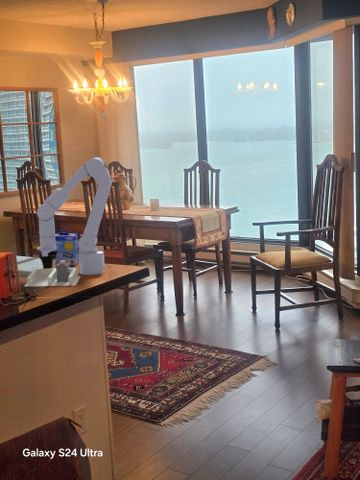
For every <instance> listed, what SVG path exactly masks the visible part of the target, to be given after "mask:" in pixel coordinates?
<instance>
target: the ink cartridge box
mask: <svg viewBox="0 0 360 480" xmlns="http://www.w3.org/2000/svg"><path fill="white" fill-rule="evenodd" d="M58 232H59V233H55V240H56V250H58V252H57V255H56V258H55V266H56V265H57V264H58V263H59V261H62V260H65V261H66V263H69V266H76V265H77V264H79V247H78V241H79V239H78V237H79V236H78V233H69V230H68V229H58Z"/></svg>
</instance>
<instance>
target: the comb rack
mask: <svg viewBox="0 0 360 480" xmlns="http://www.w3.org/2000/svg"><path fill="white" fill-rule="evenodd" d="M69 273H70V275H69V277H68V278H69V281H68V282H57V274H56V268H50V269H43V268H34V269H33V270H32V272H31V273H30V274H29V275H28V276H27V277H26V283H25V285H24V286H23V287H57V286H63V287H64V286H65V287H66V286H76V285H77V284H78V282H79V280H80V279H81V276H82V275H78V274H79V273H78V267H69Z"/></svg>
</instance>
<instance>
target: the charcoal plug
mask: <svg viewBox="0 0 360 480" xmlns="http://www.w3.org/2000/svg"><path fill="white" fill-rule="evenodd" d="M55 266H56V274H57V282H68V281H69V278H68V277H69V275H70V273H69V268H70V265H69V263H66V261H65V260H62V261H59V263H58V264H57V265H55Z"/></svg>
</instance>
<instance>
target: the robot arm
mask: <svg viewBox="0 0 360 480" xmlns="http://www.w3.org/2000/svg"><path fill="white" fill-rule="evenodd" d="M90 176H91V177H92V178H93V179H94V181H95V182H96V184H97V188H96V189H97V190H96V191H95V192H96V193H95V196H94V199H93V202H92V206H91V208H90V213H89V216H88V219H87V222H86V226H85V228H84V231H83V234H82V236H81V237H80V238H79V239H78V254H79V263H78V265H79V274H80V275H84V276H85V275H87V276H90V275H104V273H105V271H106V266H105V252H104V251H103V250H99V248H98V247H97V246H96V245H97V244H98V232H99V228H100V224H101V221H102V217H103V216H104V215H103V214H104V212H105V211H104V210H105V208H106V205H107V201H108V198H109V195H110V191H111V188H112V185H113V182H112V178H111V175H110V172H109V166H108V164H107V163H106V162H105V160H104V159H103V158H102V157H98V156H94V157H92V158H90V159H89V160H87V161H86V163H83V165H81V166H80V167H79V168H78V169H77V170H75V172H74V173H73V174H72V176H71V177H70V178H69V179H68V180H67V182H66V183H65V184H64V185H63V186H62V187H58V188H57V187H56V188H55V189H53V190H52V191H51V192H50V193H51V194H50V195H49V196H48V197H47V198H46V199H44V200H43V201H42V202H43V204H41V205H39V206H38V208H37V211H36V214H37V215H36V216H37V218H38V227H39V229H38V231H39V232H38V233H39V246H38V247H37V248H36V249H37V251H40V252H41V254H39V255H38V258H39V260H40V261H41V263H42V268H43V267H44V269H50V268H52V262H53V259H55V258H56V255H57V252H58V250H56V240H55V234H56V225H55V219H54V218H55V214H56V212H58V211H59V210H60V209H61V207H62V206H63V205H64V204H65V203H66V202H67V201H68V200H69V193H71V192H72V190H73V189H74V188H75V187H77V185H78V184H79V183H80V182H81V181H82V180H83V179H85V178H88V177H90Z"/></svg>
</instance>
